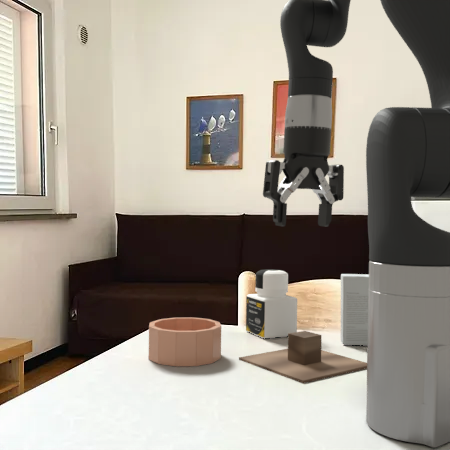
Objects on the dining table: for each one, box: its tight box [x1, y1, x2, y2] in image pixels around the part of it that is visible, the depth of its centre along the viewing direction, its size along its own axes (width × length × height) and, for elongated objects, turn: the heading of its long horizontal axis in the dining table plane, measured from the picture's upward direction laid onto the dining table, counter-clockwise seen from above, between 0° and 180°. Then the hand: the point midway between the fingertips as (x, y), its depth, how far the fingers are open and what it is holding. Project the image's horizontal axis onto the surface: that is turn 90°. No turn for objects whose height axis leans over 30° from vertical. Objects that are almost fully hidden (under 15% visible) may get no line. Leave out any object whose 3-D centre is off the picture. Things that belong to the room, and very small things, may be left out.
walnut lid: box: [238, 330, 367, 384], centre depth 80 cm, size 14×14×5 cm
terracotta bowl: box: [148, 316, 222, 367], centre depth 83 cm, size 11×11×5 cm
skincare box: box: [340, 273, 369, 347], centre depth 93 cm, size 6×4×12 cm
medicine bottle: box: [245, 268, 298, 340], centre depth 100 cm, size 7×7×12 cm
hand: (302, 226), depth 88 cm, fingers open, 8 cm apart
